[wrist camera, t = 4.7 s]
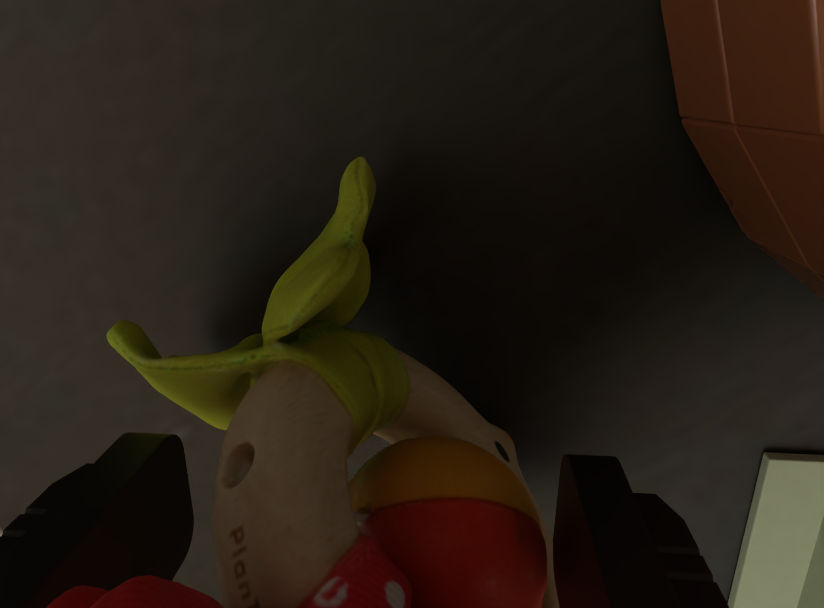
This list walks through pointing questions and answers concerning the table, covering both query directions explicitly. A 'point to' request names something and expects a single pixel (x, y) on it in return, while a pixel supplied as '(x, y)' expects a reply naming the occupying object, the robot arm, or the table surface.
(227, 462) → the bird rattle
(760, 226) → the pan
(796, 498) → the towel
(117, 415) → the table surface
